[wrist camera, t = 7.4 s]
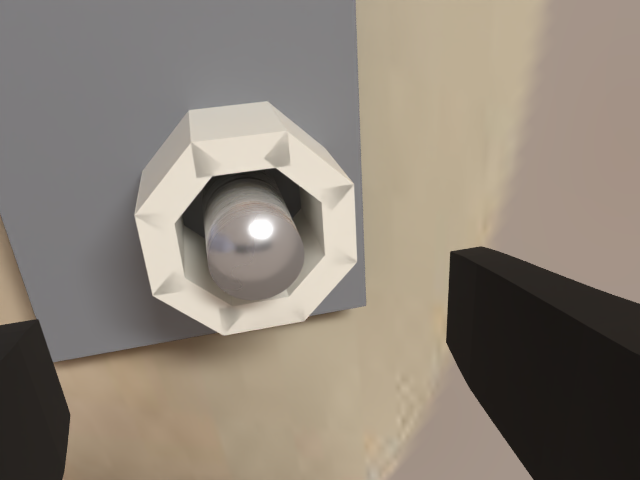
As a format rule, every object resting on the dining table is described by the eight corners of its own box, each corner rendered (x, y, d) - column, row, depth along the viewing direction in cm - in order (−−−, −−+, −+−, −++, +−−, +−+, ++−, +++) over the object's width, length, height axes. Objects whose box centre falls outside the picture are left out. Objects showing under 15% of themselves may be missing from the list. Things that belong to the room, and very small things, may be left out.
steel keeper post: (249, 241, 19) (268, 315, 15) (186, 206, 18) (188, 273, 14) (291, 183, 18) (323, 243, 14) (228, 143, 17) (243, 196, 13)
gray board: (357, 289, 22) (366, 306, 21) (58, 341, 20) (51, 362, 19) (325, -452, 13) (338, -488, 12) (-212, -478, 11) (-253, -524, 10)
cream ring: (331, 257, 20) (359, 311, 17) (166, 284, 19) (163, 346, 16) (321, 94, 17) (351, 122, 14) (130, 116, 16) (119, 151, 13)
